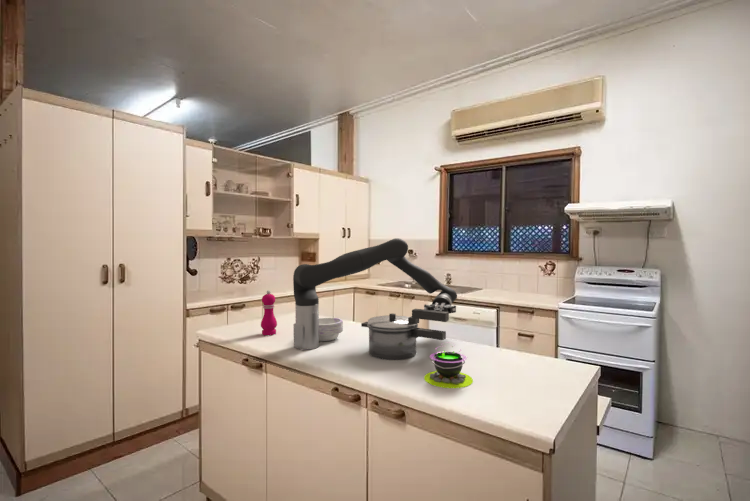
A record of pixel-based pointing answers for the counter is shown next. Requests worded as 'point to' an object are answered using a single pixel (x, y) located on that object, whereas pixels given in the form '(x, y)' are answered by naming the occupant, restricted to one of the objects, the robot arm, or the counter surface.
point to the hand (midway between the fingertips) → (437, 312)
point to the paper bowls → (329, 328)
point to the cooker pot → (398, 341)
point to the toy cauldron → (448, 371)
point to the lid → (407, 319)
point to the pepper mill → (268, 315)
